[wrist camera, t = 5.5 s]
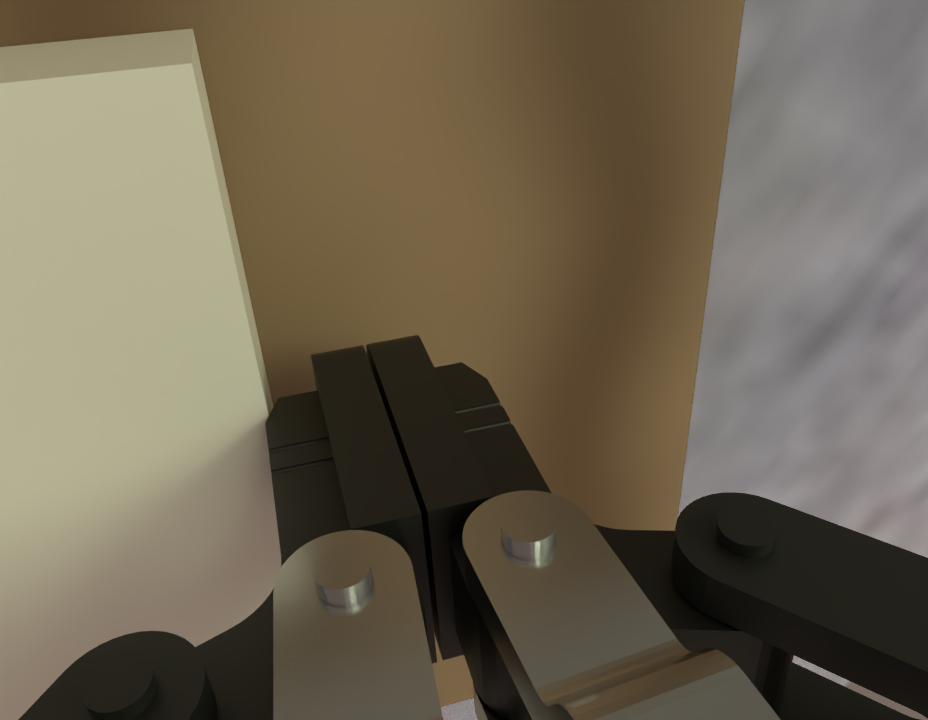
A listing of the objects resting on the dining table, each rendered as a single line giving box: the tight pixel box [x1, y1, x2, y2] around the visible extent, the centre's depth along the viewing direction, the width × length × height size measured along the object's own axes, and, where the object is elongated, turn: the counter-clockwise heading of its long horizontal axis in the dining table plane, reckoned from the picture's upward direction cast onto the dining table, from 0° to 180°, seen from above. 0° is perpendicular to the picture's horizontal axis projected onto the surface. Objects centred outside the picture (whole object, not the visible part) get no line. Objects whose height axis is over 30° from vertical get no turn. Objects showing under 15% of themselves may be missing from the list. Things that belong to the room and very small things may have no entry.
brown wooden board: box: [0, 0, 745, 707], centre depth 13 cm, size 16×18×2 cm
